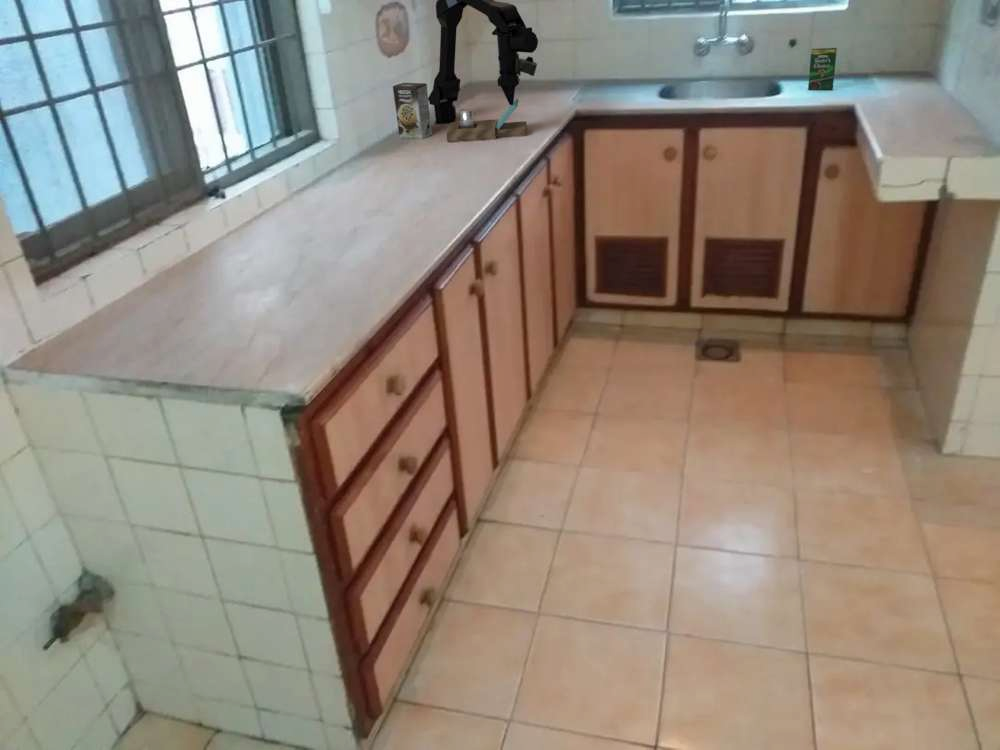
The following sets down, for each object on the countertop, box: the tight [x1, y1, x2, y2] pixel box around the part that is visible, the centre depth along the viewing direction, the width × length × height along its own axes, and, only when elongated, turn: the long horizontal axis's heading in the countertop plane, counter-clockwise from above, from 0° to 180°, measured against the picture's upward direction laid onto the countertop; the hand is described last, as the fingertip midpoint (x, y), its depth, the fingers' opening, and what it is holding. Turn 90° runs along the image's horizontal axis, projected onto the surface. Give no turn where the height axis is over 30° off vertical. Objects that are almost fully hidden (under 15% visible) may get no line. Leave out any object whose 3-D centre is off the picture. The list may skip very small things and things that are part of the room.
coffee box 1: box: [392, 82, 433, 140], centre depth 258 cm, size 9×6×16 cm
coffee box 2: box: [807, 47, 838, 91], centre depth 272 cm, size 8×3×13 cm, turn 62°
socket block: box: [446, 118, 528, 143], centre depth 256 cm, size 24×14×3 cm, turn 87°
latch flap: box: [496, 98, 519, 129], centre depth 253 cm, size 9×10×1 cm
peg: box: [459, 107, 475, 129], centre depth 255 cm, size 4×4×8 cm
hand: (511, 104), depth 252 cm, fingers closed
